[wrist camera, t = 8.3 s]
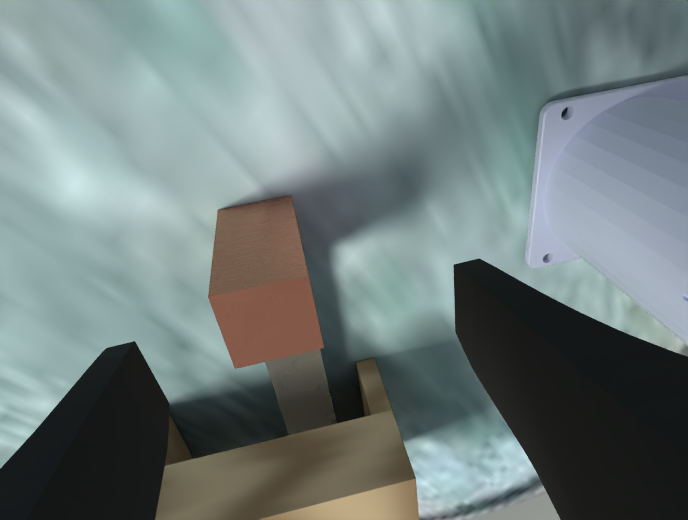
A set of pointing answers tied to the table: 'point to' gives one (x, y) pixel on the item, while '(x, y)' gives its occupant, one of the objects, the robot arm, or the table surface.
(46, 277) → the table surface
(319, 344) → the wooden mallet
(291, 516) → the wooden bridge block
